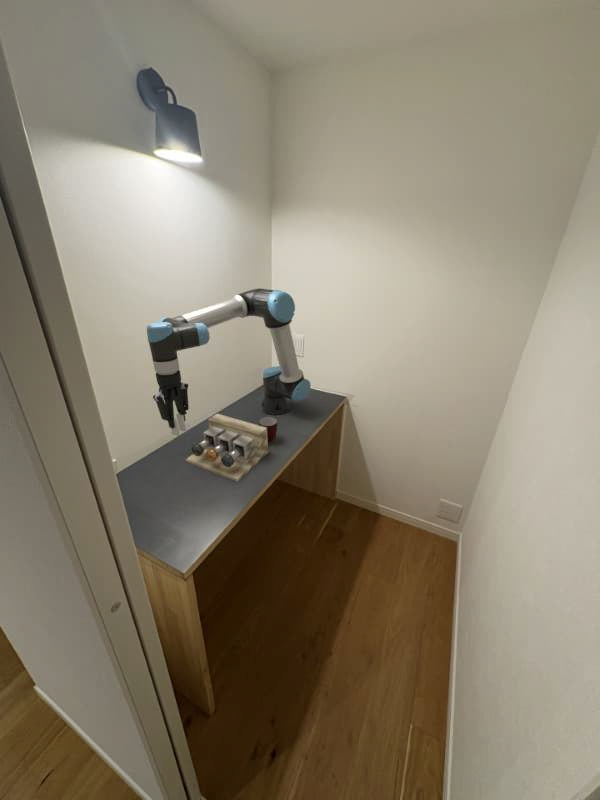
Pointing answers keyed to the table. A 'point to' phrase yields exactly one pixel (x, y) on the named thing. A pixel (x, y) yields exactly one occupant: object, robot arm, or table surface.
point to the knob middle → (217, 451)
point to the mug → (269, 427)
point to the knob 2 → (232, 456)
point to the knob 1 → (202, 446)
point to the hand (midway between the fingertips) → (179, 432)
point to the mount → (233, 446)
